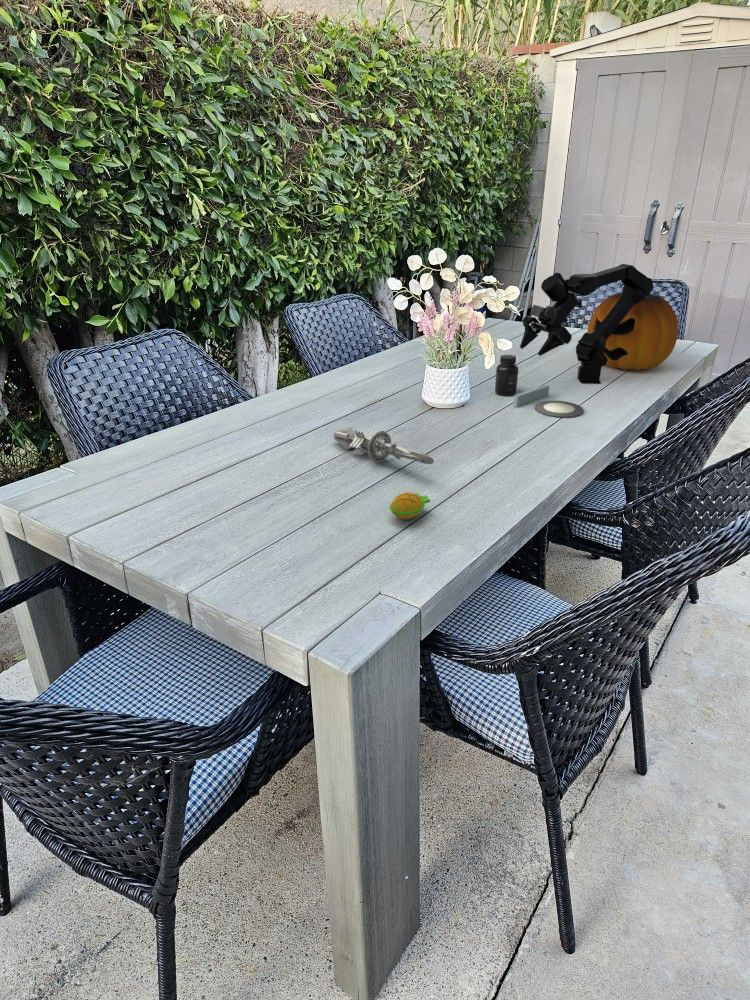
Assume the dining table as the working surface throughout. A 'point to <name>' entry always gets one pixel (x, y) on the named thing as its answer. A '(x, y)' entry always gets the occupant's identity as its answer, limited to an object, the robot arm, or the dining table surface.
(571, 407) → the mat
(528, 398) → the acrylic wall
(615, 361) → the decorative pumpkin
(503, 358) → the supplement bottle
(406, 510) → the orange green rounded piece
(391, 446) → the spaceship
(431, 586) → the dining table surface
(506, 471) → the dining table surface
